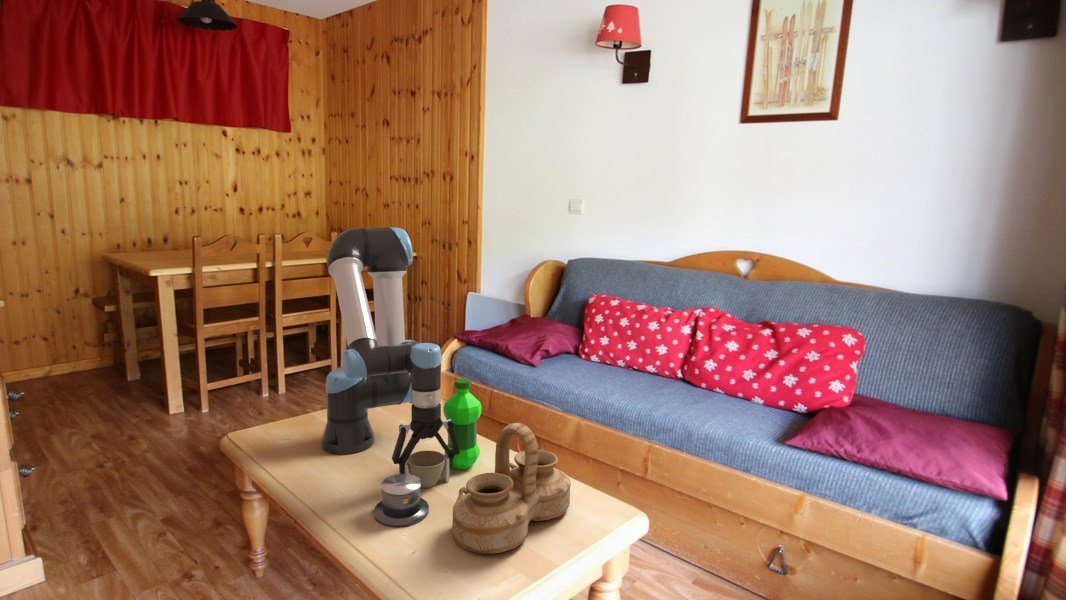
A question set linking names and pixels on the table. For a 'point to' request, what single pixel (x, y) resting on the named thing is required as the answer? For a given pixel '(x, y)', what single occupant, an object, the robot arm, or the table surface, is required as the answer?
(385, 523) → the grey top hat
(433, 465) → the flower pot
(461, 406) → the plastic bottle
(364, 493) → the table surface
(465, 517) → the ceramic vessel
